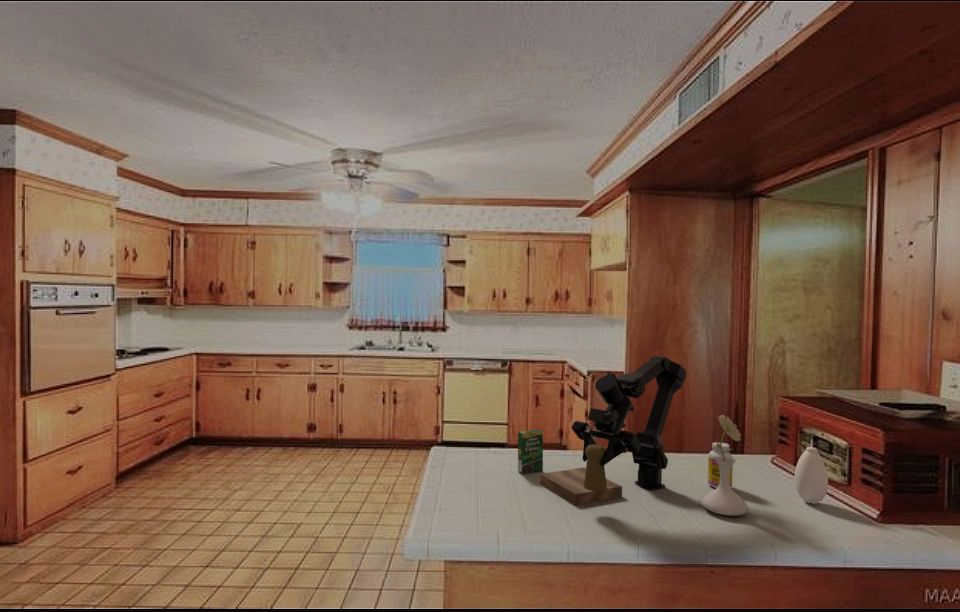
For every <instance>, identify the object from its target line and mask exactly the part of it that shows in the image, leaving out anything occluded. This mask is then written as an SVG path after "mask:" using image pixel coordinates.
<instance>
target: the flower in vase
mask: <svg viewBox="0 0 960 612" xmlns="http://www.w3.org/2000/svg"><path fill="white" fill-rule="evenodd" d="M717 418H718V421H719V424H720V426H721V427H722V429H723V430H724V432H723V434H722V436H721V439H720V444H719V443H718V441H716V442H717V445H716V446H717V447H719V448H720V449H721V452H722V456H723V457H715V460H716V461H717V463H718V465H719V469H720V484H719V486H718V487H717V488H716V489H715V488H713V490H712V491H709V492H707V493H706V494H705V495H704V496H702V497H701V499H700V503H701V504H702V506H703V507H704V508H705V509H707V510H708V511H710V512H712V513H715V514H719V515H723V516H730V517H735V516H742V515H745V514H747V512H748V511H749V507H748V504H747V503H746V502H745V500H744V499H742V497H740V496H739V495H738V494H737V493H736V492H735V491H734V490H733V489H732V488H731V487H730V484H729V477H730V470H731V467H732V465H734V464H735V463H736V460H735V459H734V458H733V459H732V458H728V457H724V454H723V453H726V452H728V451H729V452H731V451H732V450H733V448H731V447H730V449H729V450H728V451H725V452H723V450H722V445H721V444H722V443H723V439H724V437H725V434H727V435H728V436H729V437H730V438H731V439H732V440H733V441H736V442H740V441H742V439H741V437H742V434H741V432H740V431H739V429H738V426H737V424H735V423H734V422H733V421H732V420H731V418H730V417H729V416H725V415H724V414H722V415H719V416H718V417H717Z"/></svg>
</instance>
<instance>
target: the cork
mask: <svg viewBox="0 0 960 612" xmlns="http://www.w3.org/2000/svg"><path fill="white" fill-rule="evenodd" d="M605 451H606V448H605V447H604V446H603V445H599V444H597V445H588V446H587V447H586V450H585V454H586V456H587V460H586V467H585V468H586V472H585V480H584V488H585V489H587V490H590V491H605V490H606V489H607V484H606V479H607V477H606V469H605V465H604V466H603V467H602V466H600V462H601V459H602V457H603V455H604V453H605Z"/></svg>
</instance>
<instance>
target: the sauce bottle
mask: <svg viewBox="0 0 960 612" xmlns="http://www.w3.org/2000/svg"><path fill="white" fill-rule="evenodd" d="M813 443H814V441H813V438H811V439H810V446H807V447H806V448H805V451H804V452H803V453H802V454H801V455H800V457H799V460H798V461H797V464H796V466H795V470H794V472H795V473H794V485H795V489H796V491H797V494H798V495H799V496H798V497H800V498H801V499H803V501H804V502H806V503H807V502H808V503H807V504H809V503H814V504H813V505H816V504H819V502H822V501H823V500H824V498H825V496H826V495H827V492H828V488H829V476H828V472H827V469H826V465H825V462H824V460H823V458H822V457H821V455H820V454H819V452H818V449H817V448H816V447H813V446H814V444H813Z"/></svg>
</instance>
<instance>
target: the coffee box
mask: <svg viewBox="0 0 960 612" xmlns="http://www.w3.org/2000/svg"><path fill="white" fill-rule="evenodd" d="M543 435H544V431H543V430H540V429H533V430H525V431H524V430H523V431H517V471H519V472H518V473H520V474H521V473H522V474H529V473H537V472H543V471H544V458H543V457H544V452H543V451H544V446H543V445H544V443H543V442H544V441H543V439H544V437H543Z"/></svg>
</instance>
